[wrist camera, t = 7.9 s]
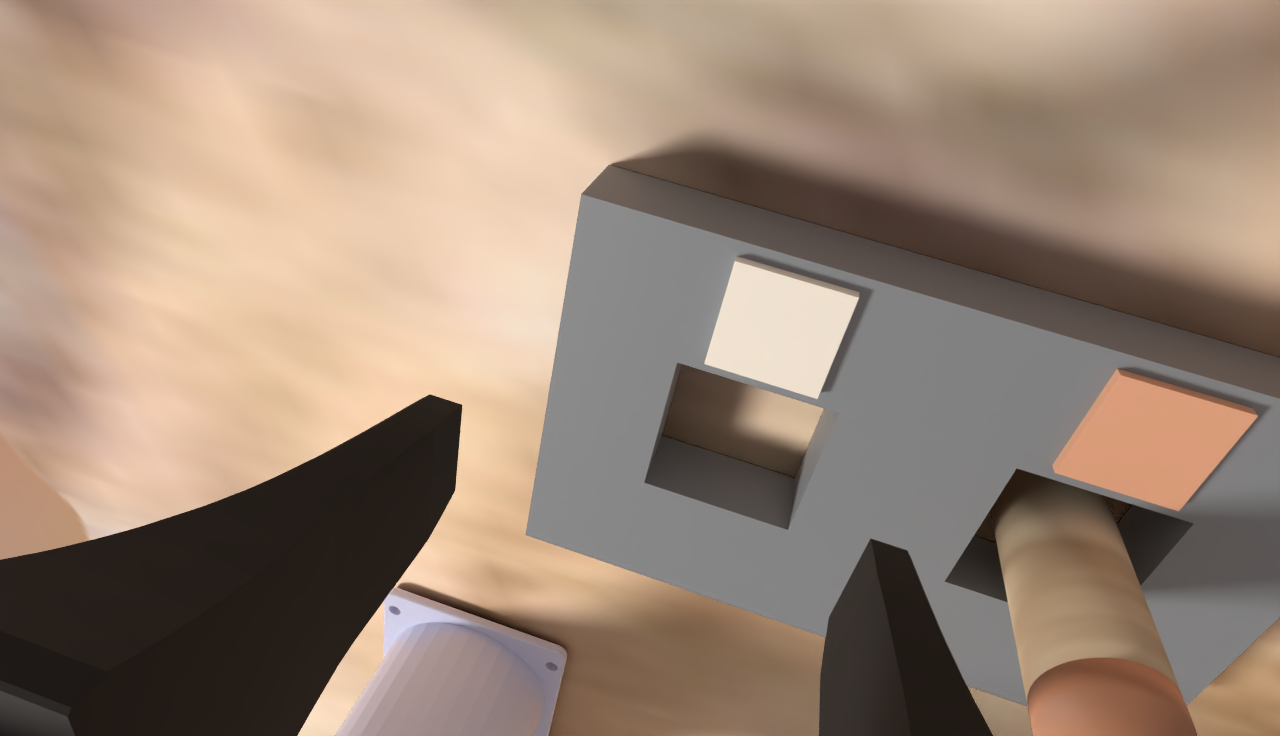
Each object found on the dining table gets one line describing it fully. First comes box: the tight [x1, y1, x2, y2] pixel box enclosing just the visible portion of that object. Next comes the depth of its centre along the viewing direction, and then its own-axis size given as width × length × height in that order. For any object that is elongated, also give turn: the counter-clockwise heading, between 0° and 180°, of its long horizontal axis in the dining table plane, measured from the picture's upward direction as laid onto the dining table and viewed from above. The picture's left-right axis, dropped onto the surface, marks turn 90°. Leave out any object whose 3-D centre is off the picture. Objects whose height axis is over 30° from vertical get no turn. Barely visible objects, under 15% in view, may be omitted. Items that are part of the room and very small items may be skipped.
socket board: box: [526, 165, 1280, 706], centre depth 22 cm, size 12×20×3 cm, turn 78°
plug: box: [990, 469, 1197, 736], centre depth 19 cm, size 3×3×8 cm
